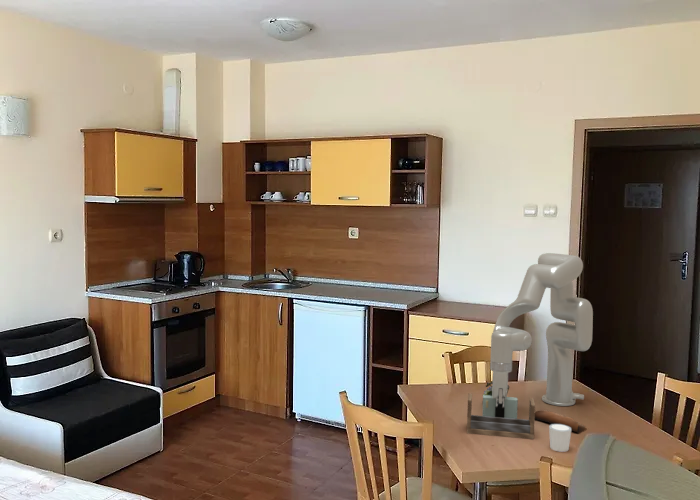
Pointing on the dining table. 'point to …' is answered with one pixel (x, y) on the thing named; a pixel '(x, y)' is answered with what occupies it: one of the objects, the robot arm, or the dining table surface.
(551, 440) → the white cup
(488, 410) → the pale green box
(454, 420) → the dining table surface
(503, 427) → the wooden book rack
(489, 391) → the passion flower
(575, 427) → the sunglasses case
